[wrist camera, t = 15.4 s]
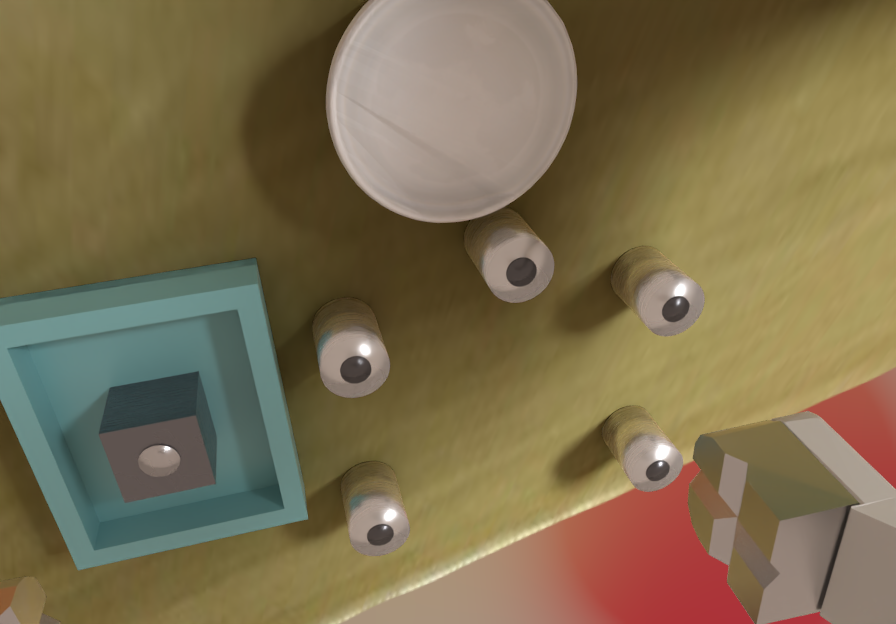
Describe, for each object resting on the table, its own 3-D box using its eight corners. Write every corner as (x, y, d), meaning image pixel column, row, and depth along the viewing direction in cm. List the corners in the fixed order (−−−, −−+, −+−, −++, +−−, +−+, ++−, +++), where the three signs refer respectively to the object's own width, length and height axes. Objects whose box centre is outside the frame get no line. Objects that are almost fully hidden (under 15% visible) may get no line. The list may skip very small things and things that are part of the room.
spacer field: (674, 178, 43) (718, 208, 39) (648, 441, 53) (681, 486, 49) (295, 237, 39) (302, 276, 35) (344, 509, 49) (354, 563, 45)
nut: (198, 371, 41) (195, 416, 37) (217, 436, 43) (215, 485, 40) (109, 387, 40) (98, 435, 36) (133, 453, 42) (124, 504, 39)
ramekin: (321, 192, 38) (333, 232, 34) (309, -50, 33) (321, -39, 28) (527, 181, 41) (563, 217, 37) (548, -45, 36) (594, -34, 31)
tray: (255, 257, 39) (257, 283, 37) (304, 484, 47) (308, 519, 45) (-13, 300, 37) (-31, 331, 34) (86, 531, 45) (78, 570, 42)
